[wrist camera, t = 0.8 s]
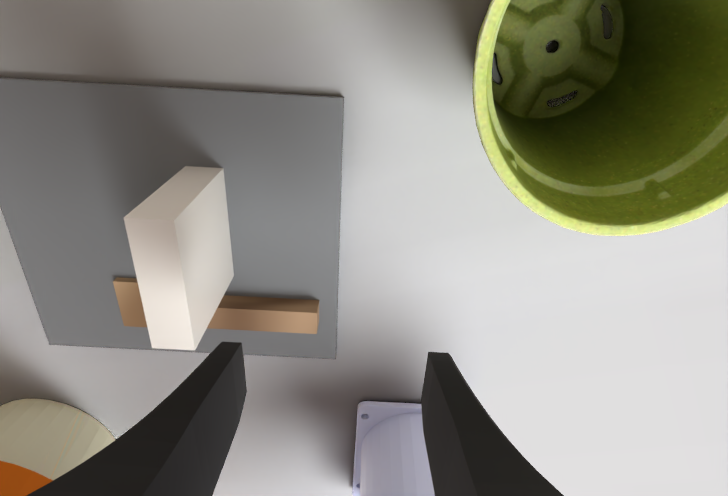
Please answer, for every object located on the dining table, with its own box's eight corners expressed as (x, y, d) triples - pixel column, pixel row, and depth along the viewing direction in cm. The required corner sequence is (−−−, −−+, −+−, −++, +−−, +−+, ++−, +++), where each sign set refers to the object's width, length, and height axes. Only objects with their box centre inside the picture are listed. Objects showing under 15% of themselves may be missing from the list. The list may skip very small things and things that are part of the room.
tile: (234, 275, 24) (195, 350, 19) (199, 273, 24) (151, 348, 19) (223, 168, 21) (174, 220, 16) (184, 166, 21) (122, 217, 16)
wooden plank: (319, 288, 24) (317, 300, 23) (319, 331, 26) (316, 345, 25) (116, 277, 24) (104, 289, 23) (127, 321, 26) (116, 335, 25)
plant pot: (475, 186, 22) (531, 280, 14) (400, -15, 18) (421, -35, 10) (676, 102, 20) (865, 159, 12) (640, -144, 16) (887, -286, 8)
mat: (336, 354, 27) (335, 359, 27) (53, 340, 27) (49, 344, 27) (343, 97, 20) (343, 98, 20) (-39, 75, 20) (-46, 76, 20)
